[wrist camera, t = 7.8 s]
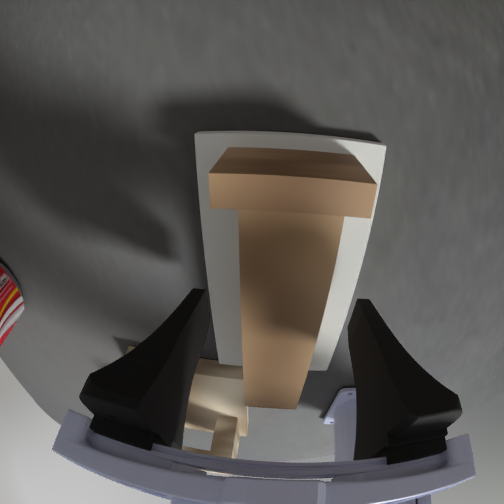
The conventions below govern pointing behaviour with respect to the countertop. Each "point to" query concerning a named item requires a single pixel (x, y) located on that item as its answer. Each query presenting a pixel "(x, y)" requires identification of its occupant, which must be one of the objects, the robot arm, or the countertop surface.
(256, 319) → the pin
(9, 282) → the soda can
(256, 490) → the robot arm
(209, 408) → the block
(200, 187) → the felt pad
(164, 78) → the countertop surface
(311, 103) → the countertop surface
